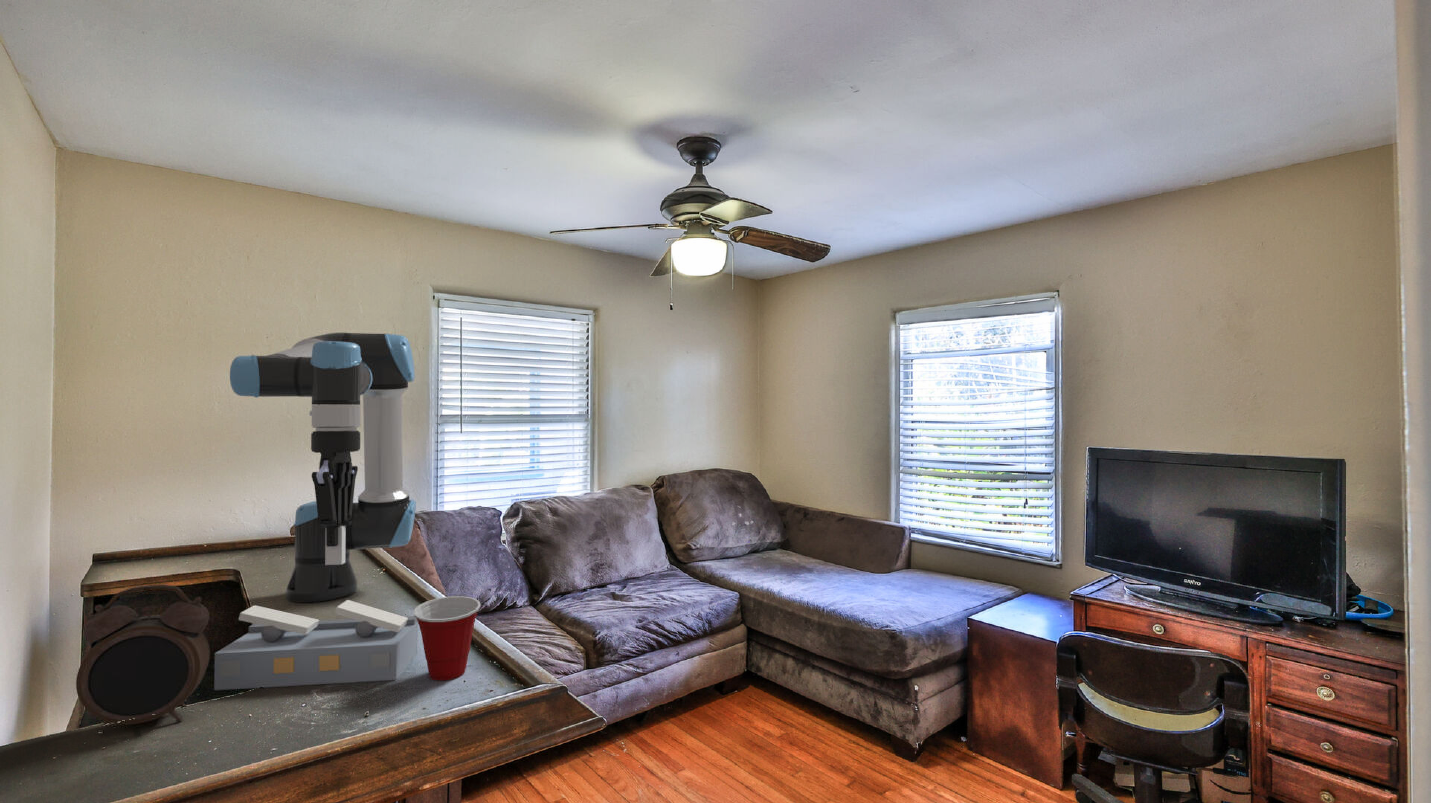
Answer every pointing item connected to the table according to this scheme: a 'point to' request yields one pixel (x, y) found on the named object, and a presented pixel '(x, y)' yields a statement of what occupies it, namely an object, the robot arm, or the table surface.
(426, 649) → the plastic cup
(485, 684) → the table surface
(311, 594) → the robot arm
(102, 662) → the alarm clock
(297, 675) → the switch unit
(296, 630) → the rocker left
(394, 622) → the rocker right
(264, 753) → the table surface
